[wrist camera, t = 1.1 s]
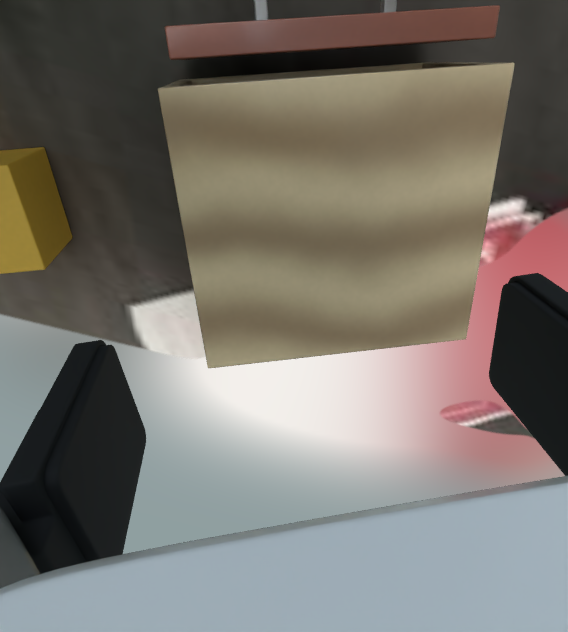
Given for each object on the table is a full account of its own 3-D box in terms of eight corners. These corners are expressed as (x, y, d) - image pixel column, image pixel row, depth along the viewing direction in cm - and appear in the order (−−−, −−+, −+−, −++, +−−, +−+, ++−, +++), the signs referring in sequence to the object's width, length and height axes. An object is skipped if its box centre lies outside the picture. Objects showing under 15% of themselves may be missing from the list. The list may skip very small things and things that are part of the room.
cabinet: (178, 79, 27) (157, 88, 19) (429, 61, 28) (515, 62, 20) (212, 294, 34) (208, 368, 26) (410, 273, 35) (466, 339, 27)
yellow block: (-30, 152, 28) (-84, 171, 23) (44, 146, 28) (7, 164, 23) (6, 244, 31) (-35, 277, 26) (73, 237, 31) (45, 270, 26)
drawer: (162, -90, 22) (134, -154, 16) (440, -103, 23) (527, -168, 17) (214, 257, 32) (210, 311, 25) (410, 239, 33) (457, 285, 26)
